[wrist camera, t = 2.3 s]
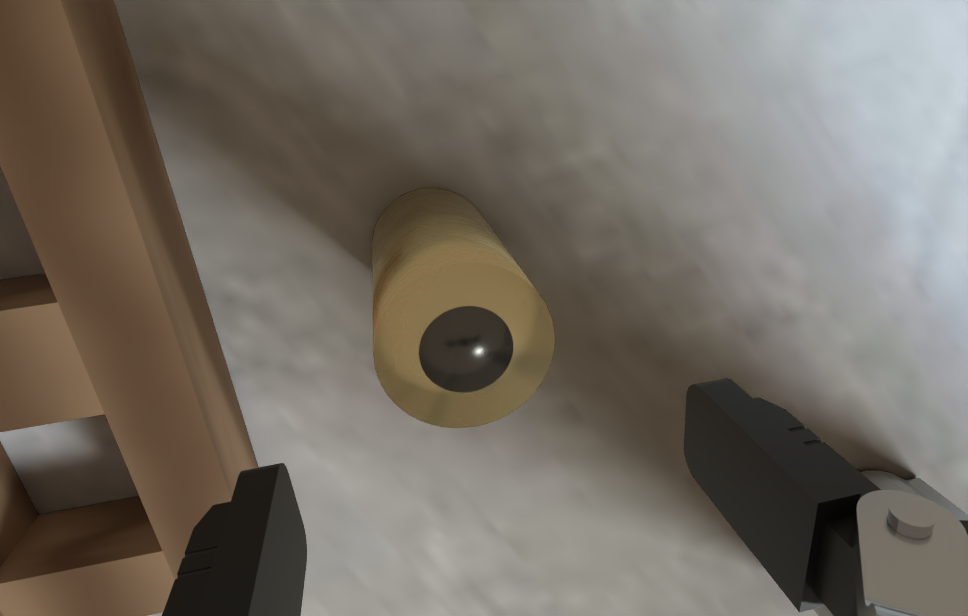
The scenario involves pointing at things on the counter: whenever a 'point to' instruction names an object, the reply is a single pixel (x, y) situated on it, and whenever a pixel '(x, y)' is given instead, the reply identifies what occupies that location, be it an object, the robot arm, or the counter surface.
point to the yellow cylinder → (453, 314)
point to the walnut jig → (102, 323)
